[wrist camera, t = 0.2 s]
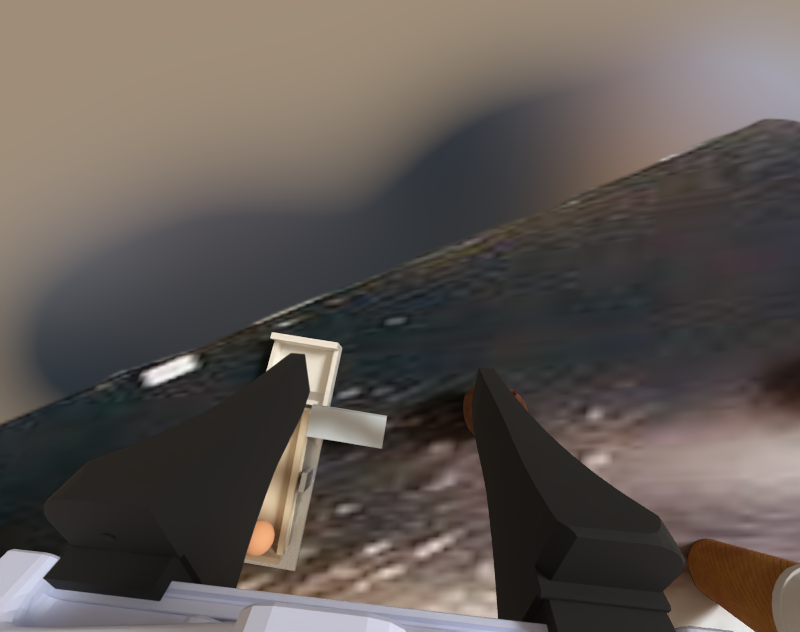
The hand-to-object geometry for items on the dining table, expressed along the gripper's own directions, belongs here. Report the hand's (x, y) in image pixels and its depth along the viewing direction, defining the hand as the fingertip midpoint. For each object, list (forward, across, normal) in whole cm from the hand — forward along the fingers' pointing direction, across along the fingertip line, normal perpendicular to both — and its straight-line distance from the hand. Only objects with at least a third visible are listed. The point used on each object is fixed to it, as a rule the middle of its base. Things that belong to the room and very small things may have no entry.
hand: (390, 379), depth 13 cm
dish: (+23, +14, +20) cm, 33 cm away
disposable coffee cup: (+11, -39, +35) cm, 54 cm away
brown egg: (+7, +14, +30) cm, 33 cm away
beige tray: (+12, +10, +26) cm, 31 cm away
